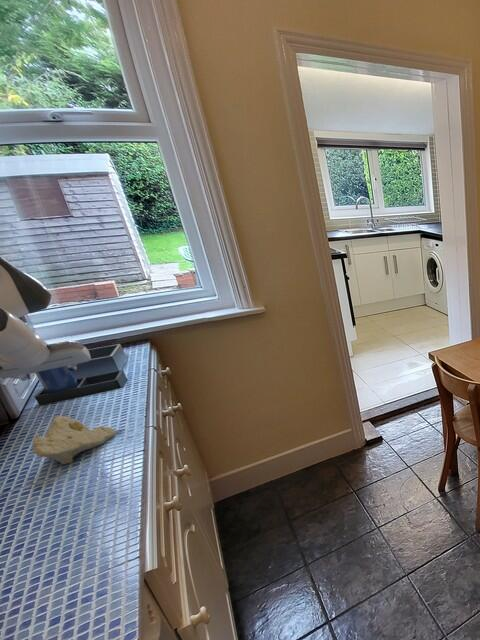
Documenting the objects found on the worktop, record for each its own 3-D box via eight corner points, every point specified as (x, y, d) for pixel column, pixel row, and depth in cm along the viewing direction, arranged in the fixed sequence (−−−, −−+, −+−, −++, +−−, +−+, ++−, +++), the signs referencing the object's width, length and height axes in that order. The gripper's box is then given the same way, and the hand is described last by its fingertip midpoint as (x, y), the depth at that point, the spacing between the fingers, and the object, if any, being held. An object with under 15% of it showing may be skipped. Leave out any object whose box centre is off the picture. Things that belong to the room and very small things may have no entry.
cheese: (94, 442, 102) (6, 435, 89) (111, 418, 102) (26, 407, 89) (112, 481, 95) (19, 480, 82) (130, 456, 95) (40, 450, 82)
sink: (61, 384, 131) (51, 367, 128) (74, 369, 142) (65, 353, 139) (120, 372, 138) (112, 355, 135) (127, 359, 149) (120, 343, 146)
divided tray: (40, 407, 116) (34, 396, 115) (51, 395, 123) (45, 385, 122) (122, 390, 125) (117, 379, 123) (127, 379, 132) (122, 369, 131)
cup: (48, 404, 118) (28, 370, 113) (55, 395, 123) (36, 362, 118) (79, 397, 121) (61, 363, 117) (85, 389, 126) (68, 356, 122)
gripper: (75, 330, 111) (96, 353, 122) (-39, 350, 100) (-4, 373, 111) (81, 350, 110) (102, 371, 121) (-35, 372, 99) (0, 394, 110)
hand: (50, 372), depth 116 cm, fingers open, 8 cm apart
